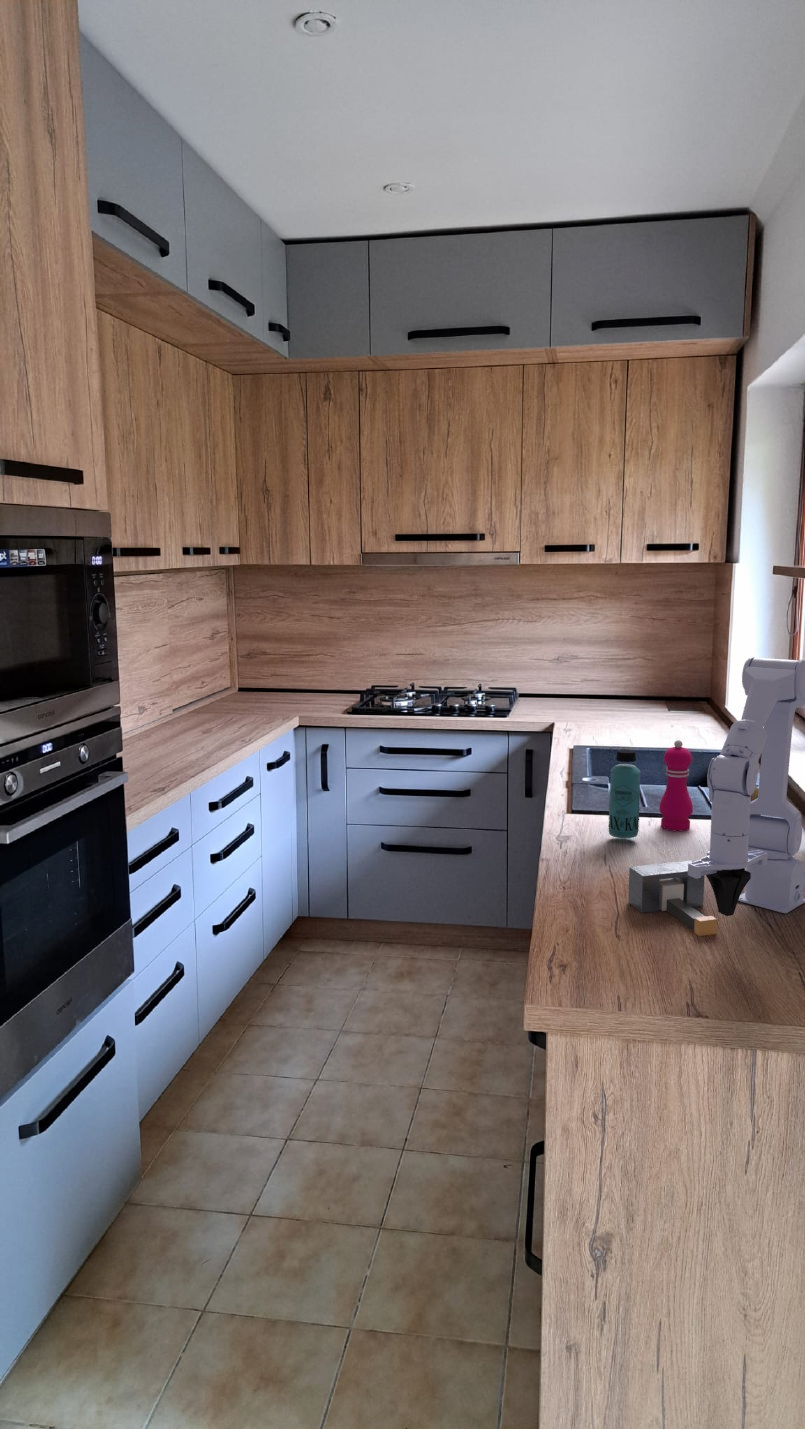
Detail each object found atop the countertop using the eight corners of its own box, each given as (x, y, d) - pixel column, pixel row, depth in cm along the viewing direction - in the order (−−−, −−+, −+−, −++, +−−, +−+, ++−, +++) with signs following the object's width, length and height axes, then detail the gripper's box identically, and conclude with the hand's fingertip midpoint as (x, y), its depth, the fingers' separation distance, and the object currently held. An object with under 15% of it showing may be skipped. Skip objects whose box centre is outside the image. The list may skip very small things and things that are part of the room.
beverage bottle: (605, 836, 215) (607, 746, 211) (636, 835, 215) (638, 746, 211) (610, 845, 209) (612, 753, 205) (642, 845, 208) (644, 753, 205)
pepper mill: (680, 834, 215) (683, 745, 212) (652, 827, 221) (654, 740, 217) (698, 827, 220) (702, 740, 216) (670, 820, 225) (673, 735, 222)
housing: (703, 905, 175) (704, 869, 173) (641, 913, 172) (642, 876, 171) (688, 895, 180) (689, 860, 178) (628, 902, 177) (629, 866, 175)
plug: (718, 933, 163) (719, 907, 162) (696, 936, 162) (697, 910, 161) (671, 900, 178) (672, 876, 177) (651, 902, 177) (652, 878, 176)
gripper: (746, 818, 161) (742, 897, 163) (676, 830, 155) (672, 912, 157) (779, 830, 154) (774, 912, 157) (707, 843, 148) (703, 928, 151)
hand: (725, 913), depth 156 cm, fingers closed
